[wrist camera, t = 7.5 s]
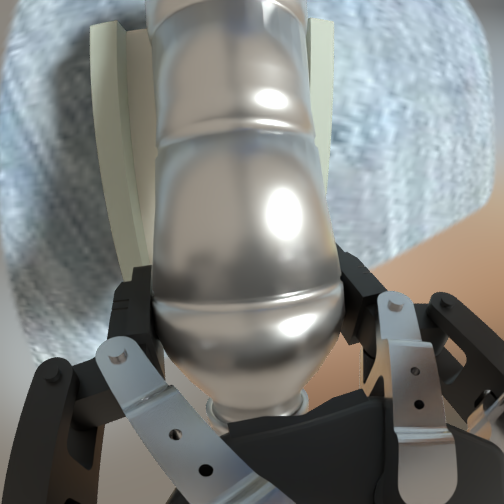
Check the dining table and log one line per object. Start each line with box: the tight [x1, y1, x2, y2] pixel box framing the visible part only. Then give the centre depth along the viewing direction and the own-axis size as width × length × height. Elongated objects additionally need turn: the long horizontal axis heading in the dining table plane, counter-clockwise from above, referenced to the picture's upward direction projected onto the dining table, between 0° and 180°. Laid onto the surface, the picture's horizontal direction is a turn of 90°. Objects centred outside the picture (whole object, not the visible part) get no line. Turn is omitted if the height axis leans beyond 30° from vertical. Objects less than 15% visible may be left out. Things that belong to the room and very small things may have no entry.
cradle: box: [90, 18, 334, 282], centre depth 15 cm, size 14×11×4 cm
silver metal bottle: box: [145, 0, 346, 436], centre depth 10 cm, size 6×7×20 cm
